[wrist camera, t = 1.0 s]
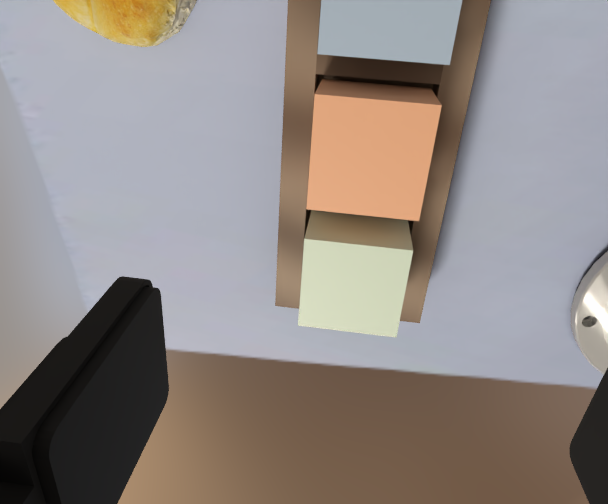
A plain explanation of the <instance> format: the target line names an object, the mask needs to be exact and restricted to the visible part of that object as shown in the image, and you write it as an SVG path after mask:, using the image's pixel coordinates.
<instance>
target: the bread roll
mask: <svg viewBox="0 0 608 504" xmlns="http://www.w3.org/2000/svg"><path fill="white" fill-rule="evenodd" d="M53 1H54V2H55V3H56V4H57V5H58V6H59V7H60V8H61V9H62V10H63V11H64V12H65V13H66V14H67V15H69V16H70V17H71V18H72V19H74V20H75V21H77V22H78V23H80V24H81V25H83V26H85V27H86V28H88V29H90V30H92V31H95V32H96V33H98V34H100V35H101V36H103V37H105V38H107V39H110V40H112V41H114V42H118V43H123V44H127V45H132V46H140V47H147V46H155V45H159V44H160V43H162V42H163V41H165V40H167V39H168V38H170V37H171V36H173V35H174V34H176V33H178V32H179V31H180V30H181V28H182V26H183V25H184V23H185V22H186V20H187V18H188V16H189V14H190V12H191V11H192V9H193V7H194V6H195V3H196V1H197V0H53Z"/></svg>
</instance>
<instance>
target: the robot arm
mask: <svg viewBox="0 0 608 504" xmlns="http://www.w3.org/2000/svg"><path fill="white" fill-rule="evenodd" d="M571 328H572V332H573V335H574V339H575V341H576V342H577V344H578V346H579V348H580V350H581V352H582V353H583V355H584V356H585V357H586V359H587V360H588V361H589V363H590V364H591V365H592V366H593V367H595V368H596V369H597V370H598V371H600V372H601V373H602V374H604V376H603V378H602V380H601V382H600V384H599V386H598V388H597V390H596V392H595V394H594V397H593V398H592V400H591V402H590V404H589V407H588V409H587V411H586V412H585V414H584V417H583V419H582V421H581V423H580V425H579V427H578V429H577V431H576V433H575V435H574V437H573V439H572V441H571V444H570V458H571V461H572V464H573V466H574V469H575V471H576V473H577V476H578V478H579V480H580V482H581V485H582V487H583V490H584V492H585V494H586V496H587V499H588V501H589V503H590V504H608V251H607V252H606V253H605V254H604V255H603V256H602V257H601V258H599V259H598V260H597V261H596V262H595V263H594V264H593V266H592V267H591V268H590V270H589V271H588V272H587V274H586V275H585V276H584V278H583V279H582V281H581V283H580V285H579V287H578V289H577V291H576V293H575V295H574V299H573V303H572V307H571ZM167 373H168V372H167V361H166V349H165V338H164V326H163V315H162V304H161V294H160V290H159V289H158V288H153V286H152V283H151V281H150V280H147V279H139V278H131V277H119V278H118V279H117V280H116V281H115V282H114V283H113V284H112V286H111V287H110V288H109V289H108V290H107V291H106V293H105V294H104V295H103V296H102V297H101V298H100V300H99V301H98V302H97V303H96V304H95V305H94V307H93V308H92V309H91V310H90V311H89V312H88V314H87V315H86V316H85V317H84V318H83V319H82V321H81V322H80V323H79V324H78V325H77V326H76V328H75V329H74V330H73V331H72V332H71V333H70V335H69V336H68V337H65V338H63V339H62V340H61V341H60V342H59V343H58V344H57V345H56V346H55V347H54V348H53V349H52V350H51V352H50V353H49V354H48V355H47V356H46V357H45V359H44V360H43V361H42V362H41V363H40V364H39V365H38V367H37V368H36V369H35V370H34V371H33V372H32V373H31V375H30V376H29V377H28V378H27V379H26V380H25V381H24V383H23V384H22V385H21V386H20V387H19V388H18V390H17V391H16V392H15V393H14V394H13V395H12V397H11V398H10V399H9V400H8V401H7V402H6V403H5V404H4V406H3V407H2V408H1V409H0V504H117V503H118V501H119V499H120V497H121V495H122V493H123V490H124V489H125V486H126V484H127V482H128V480H129V478H130V476H131V474H132V472H133V470H134V468H135V466H136V464H137V462H138V460H139V458H140V456H141V453H142V451H143V449H144V447H145V445H146V443H147V441H148V439H149V437H150V435H151V433H152V431H153V429H154V427H155V424H156V422H157V420H158V418H159V416H160V414H161V412H162V410H163V408H164V406H165V404H166V401H167V397H168V391H169V385H168V374H167Z"/></svg>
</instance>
